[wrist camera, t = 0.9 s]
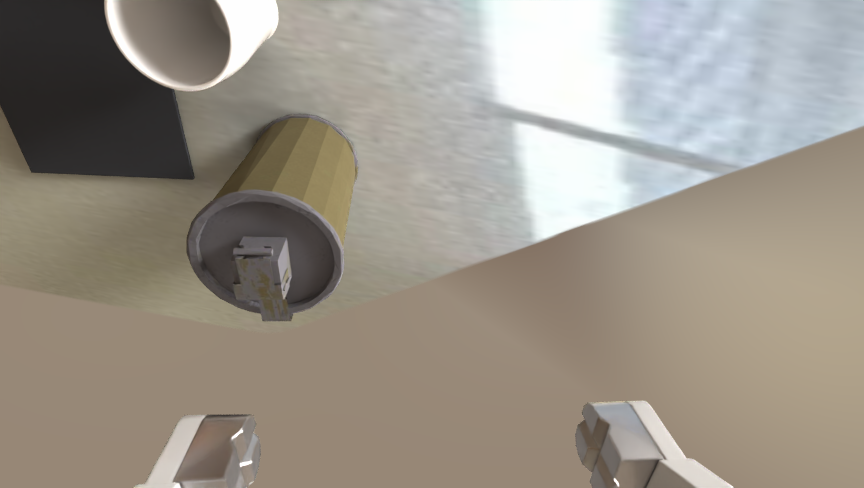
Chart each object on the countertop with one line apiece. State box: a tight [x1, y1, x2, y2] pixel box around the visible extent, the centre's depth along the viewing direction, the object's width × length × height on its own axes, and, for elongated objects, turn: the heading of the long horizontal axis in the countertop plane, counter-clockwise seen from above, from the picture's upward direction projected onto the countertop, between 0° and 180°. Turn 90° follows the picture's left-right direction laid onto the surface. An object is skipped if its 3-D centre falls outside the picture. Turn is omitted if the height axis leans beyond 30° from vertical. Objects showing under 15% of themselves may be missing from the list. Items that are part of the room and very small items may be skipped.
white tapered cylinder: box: [104, 0, 278, 91], centre depth 29 cm, size 7×7×15 cm
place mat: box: [0, 0, 195, 179], centre depth 37 cm, size 20×15×1 cm
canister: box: [187, 114, 358, 321], centre depth 35 cm, size 11×10×20 cm
